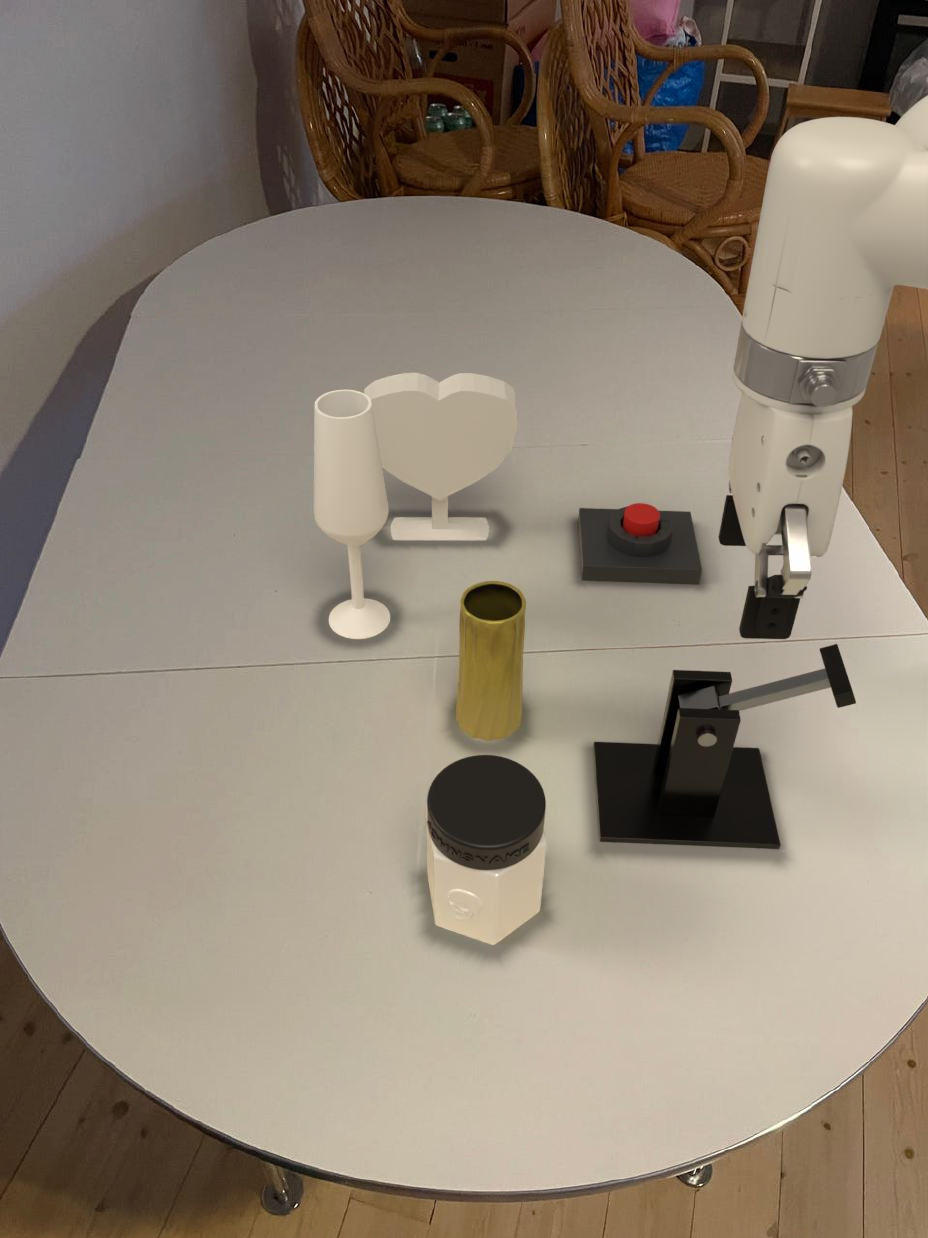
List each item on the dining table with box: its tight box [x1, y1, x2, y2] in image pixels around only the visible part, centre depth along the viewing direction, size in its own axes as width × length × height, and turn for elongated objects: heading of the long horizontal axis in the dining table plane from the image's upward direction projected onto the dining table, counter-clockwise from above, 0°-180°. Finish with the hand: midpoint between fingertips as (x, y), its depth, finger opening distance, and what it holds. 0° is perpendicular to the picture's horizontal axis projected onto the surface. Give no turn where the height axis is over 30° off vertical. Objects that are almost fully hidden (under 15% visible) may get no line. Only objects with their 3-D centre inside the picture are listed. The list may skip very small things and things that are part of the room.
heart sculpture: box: [363, 372, 519, 541], centre depth 107 cm, size 16×5×18 cm, turn 91°
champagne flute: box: [313, 389, 391, 640], centre depth 94 cm, size 7×7×24 cm
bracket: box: [592, 669, 782, 850], centre depth 82 cm, size 14×10×13 cm
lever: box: [678, 643, 857, 712], centre depth 77 cm, size 12×5×2 cm, turn 87°
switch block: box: [577, 505, 703, 586], centre depth 109 cm, size 12×10×4 cm
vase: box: [455, 580, 527, 742], centre depth 87 cm, size 6×6×14 cm
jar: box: [425, 754, 548, 946], centre depth 75 cm, size 9×8×12 cm
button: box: [623, 502, 660, 536], centre depth 107 cm, size 4×4×2 cm
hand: (751, 587), depth 71 cm, fingers open, 9 cm apart
